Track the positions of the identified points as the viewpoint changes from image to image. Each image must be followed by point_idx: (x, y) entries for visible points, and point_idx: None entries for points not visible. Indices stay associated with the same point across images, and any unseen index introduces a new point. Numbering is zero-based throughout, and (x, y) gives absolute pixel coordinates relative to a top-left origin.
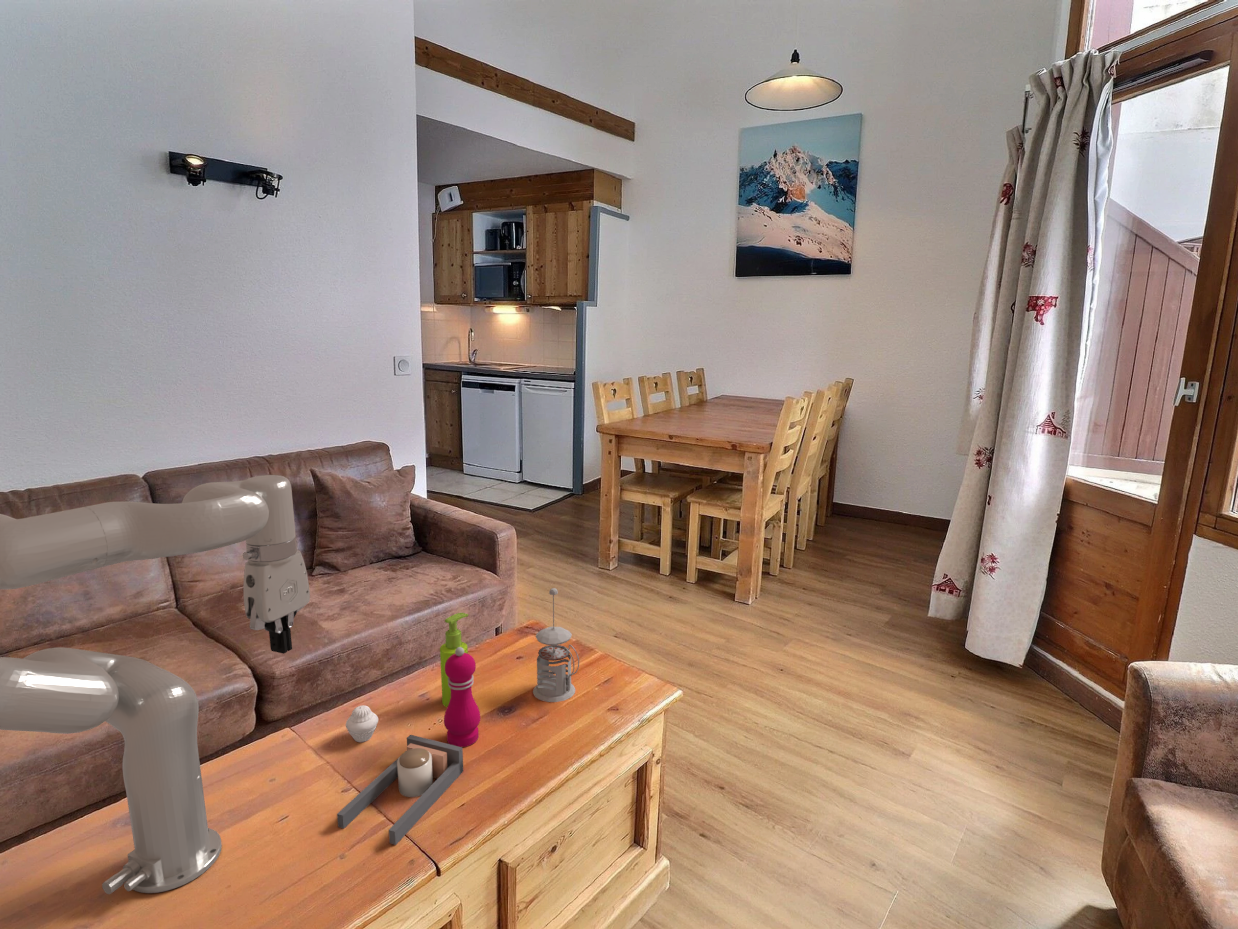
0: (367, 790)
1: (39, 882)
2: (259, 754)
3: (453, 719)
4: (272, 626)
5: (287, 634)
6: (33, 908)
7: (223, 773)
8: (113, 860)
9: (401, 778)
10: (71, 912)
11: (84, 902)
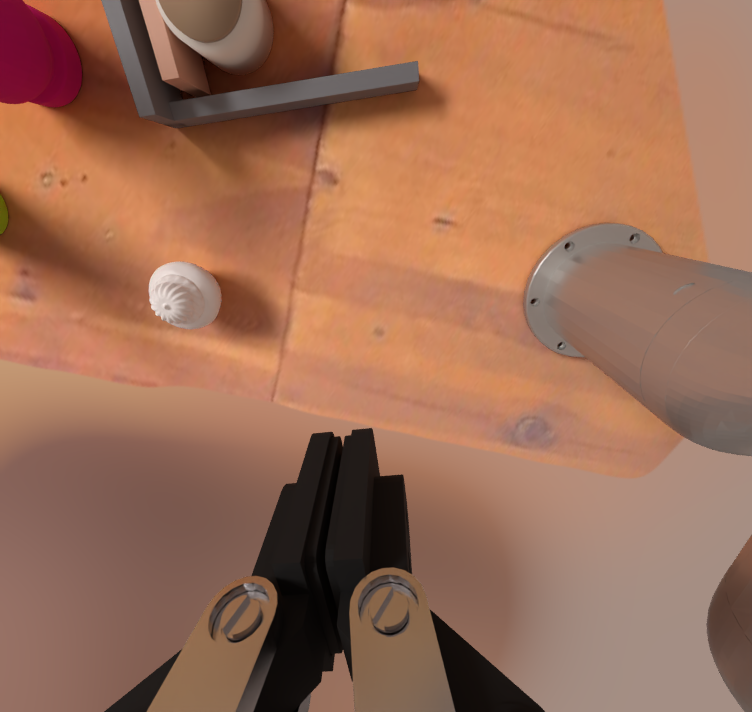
0: (328, 82)
1: None
2: (344, 407)
3: (5, 17)
4: (458, 695)
5: (316, 526)
6: None
7: (406, 413)
8: None
9: (259, 13)
10: None
11: None
